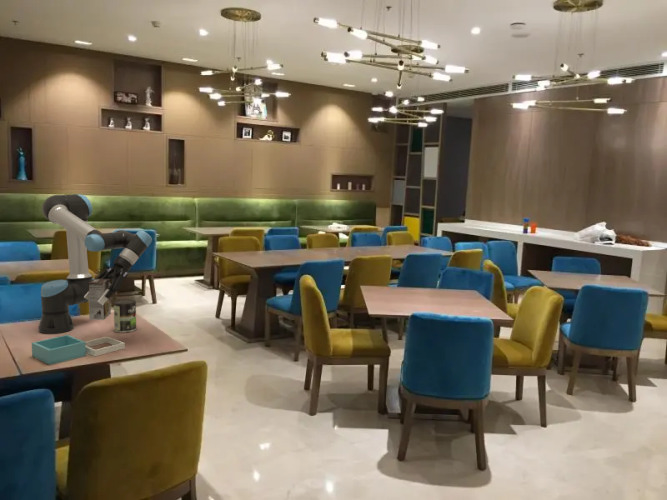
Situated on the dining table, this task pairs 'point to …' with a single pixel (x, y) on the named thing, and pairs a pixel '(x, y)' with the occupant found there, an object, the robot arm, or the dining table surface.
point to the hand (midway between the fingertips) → (93, 301)
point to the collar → (115, 346)
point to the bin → (58, 349)
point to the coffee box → (95, 293)
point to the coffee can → (125, 315)
